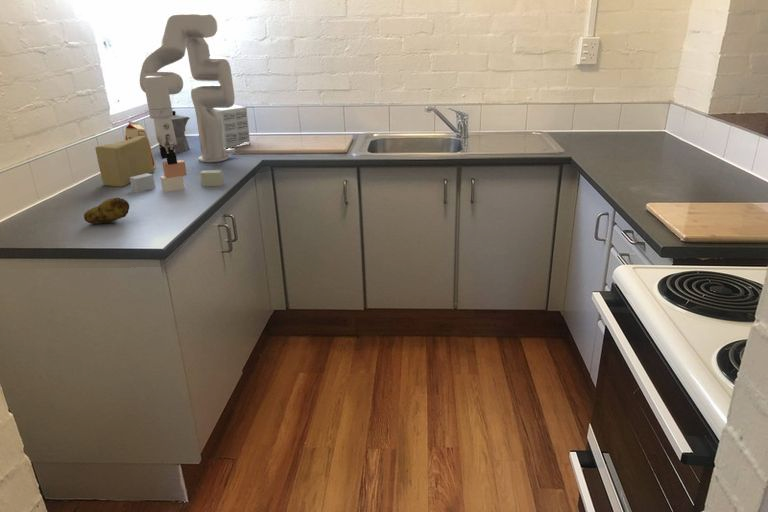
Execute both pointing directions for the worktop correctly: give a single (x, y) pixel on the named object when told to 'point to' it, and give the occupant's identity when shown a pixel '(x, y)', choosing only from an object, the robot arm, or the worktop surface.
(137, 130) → the milk carton
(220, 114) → the supplement box
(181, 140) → the coffeepot
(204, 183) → the sage brick
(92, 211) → the potato
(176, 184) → the cream brick
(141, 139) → the cheese
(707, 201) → the worktop surface
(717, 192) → the worktop surface
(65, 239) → the worktop surface
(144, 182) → the slate brick
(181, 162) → the terracotta brick
